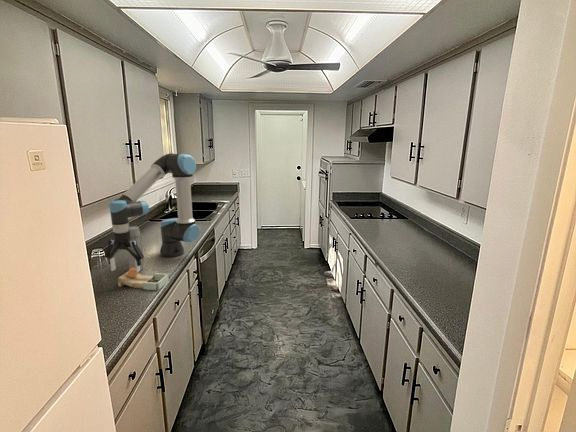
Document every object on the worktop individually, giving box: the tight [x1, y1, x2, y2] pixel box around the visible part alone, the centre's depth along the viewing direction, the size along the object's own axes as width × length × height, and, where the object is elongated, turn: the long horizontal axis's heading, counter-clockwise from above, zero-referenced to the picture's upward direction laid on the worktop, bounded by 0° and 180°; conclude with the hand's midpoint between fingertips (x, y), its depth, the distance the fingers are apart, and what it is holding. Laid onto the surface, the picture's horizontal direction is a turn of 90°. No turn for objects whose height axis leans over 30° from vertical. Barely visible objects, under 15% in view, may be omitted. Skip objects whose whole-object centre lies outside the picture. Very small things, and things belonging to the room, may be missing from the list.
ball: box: [127, 268, 139, 278], centre depth 167 cm, size 5×5×5 cm
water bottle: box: [127, 225, 147, 271], centre depth 183 cm, size 9×8×25 cm
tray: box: [142, 272, 170, 291], centre depth 167 cm, size 12×8×4 cm, turn 174°
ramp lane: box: [117, 271, 156, 289], centre depth 168 cm, size 10×14×5 cm
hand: (125, 270), depth 168 cm, fingers open, 13 cm apart
